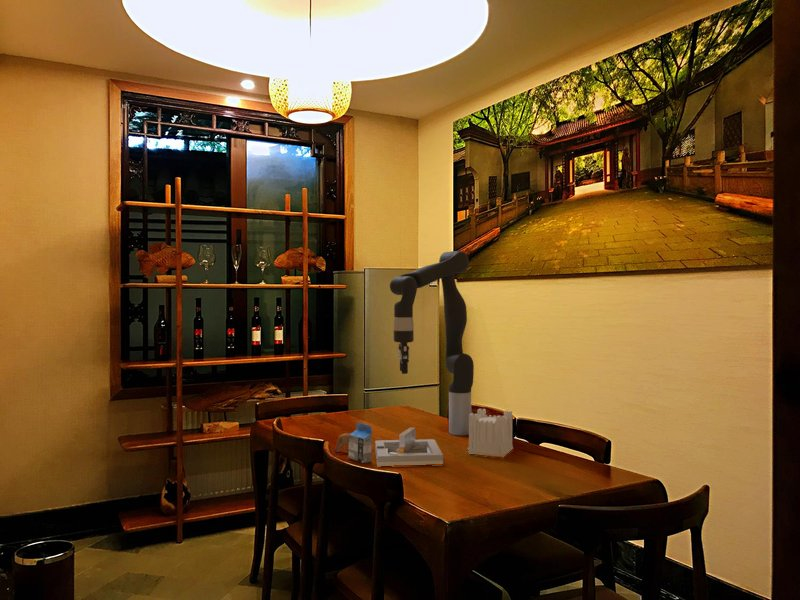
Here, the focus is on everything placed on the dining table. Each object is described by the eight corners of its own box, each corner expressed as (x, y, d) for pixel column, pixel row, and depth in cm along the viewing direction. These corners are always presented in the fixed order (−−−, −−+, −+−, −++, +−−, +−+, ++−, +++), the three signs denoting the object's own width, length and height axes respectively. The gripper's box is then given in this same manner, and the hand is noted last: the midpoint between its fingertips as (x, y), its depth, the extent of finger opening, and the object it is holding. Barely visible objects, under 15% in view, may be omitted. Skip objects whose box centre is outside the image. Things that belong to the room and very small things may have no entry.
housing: (434, 448, 223) (434, 437, 223) (443, 465, 201) (443, 453, 201) (375, 450, 221) (375, 438, 221) (377, 466, 199) (377, 454, 199)
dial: (395, 446, 220) (395, 425, 220) (432, 449, 215) (432, 428, 215) (381, 455, 207) (381, 434, 207) (420, 459, 202) (420, 437, 202)
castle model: (503, 458, 209) (503, 417, 209) (462, 453, 216) (462, 414, 216) (512, 449, 221) (512, 411, 221) (473, 445, 227) (473, 408, 227)
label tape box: (347, 458, 210) (347, 423, 210) (357, 456, 213) (357, 421, 213) (362, 463, 203) (362, 427, 203) (372, 461, 206) (372, 425, 206)
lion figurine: (366, 446, 226) (366, 423, 226) (373, 449, 222) (373, 425, 222) (331, 452, 218) (330, 427, 218) (337, 455, 214) (337, 430, 214)
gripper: (415, 330, 219) (415, 374, 219) (411, 328, 233) (411, 369, 233) (394, 330, 219) (395, 374, 219) (392, 328, 233) (392, 370, 233)
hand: (403, 372), depth 226 cm, fingers open, 8 cm apart
